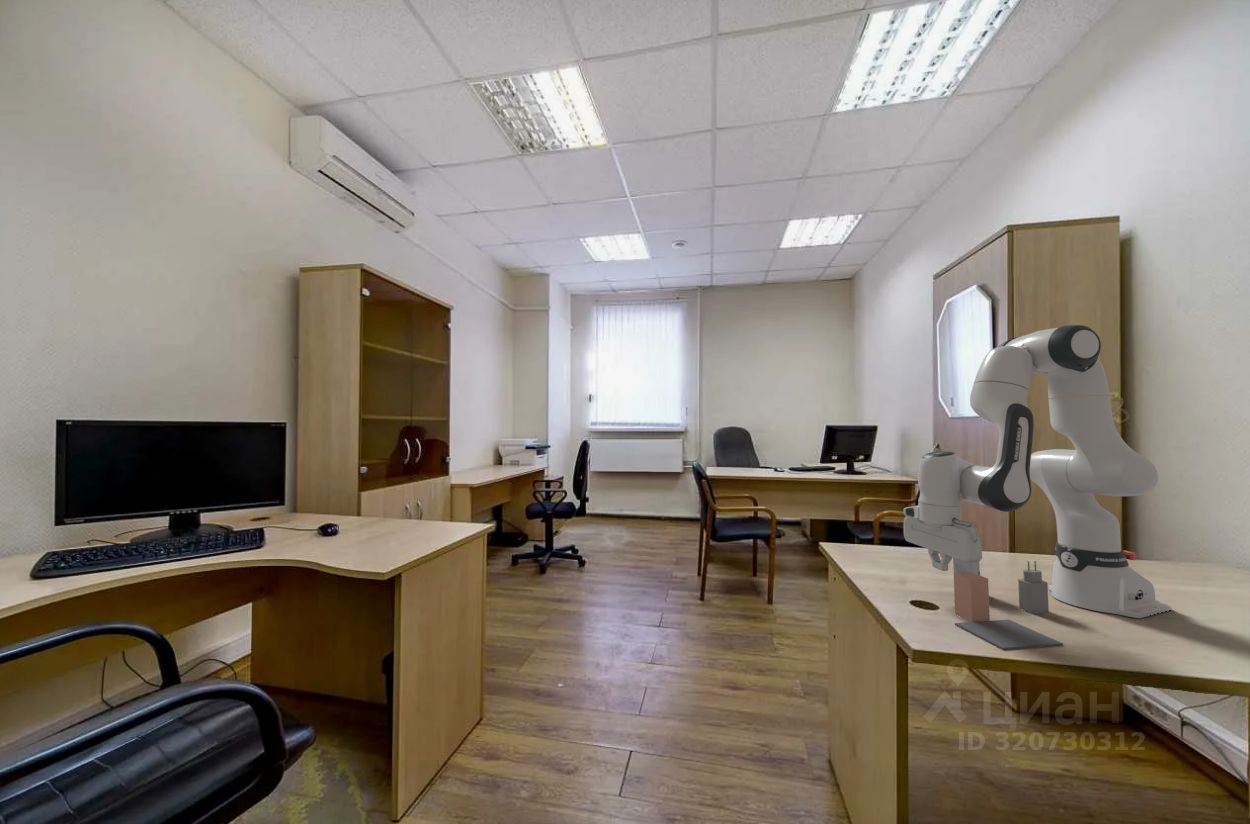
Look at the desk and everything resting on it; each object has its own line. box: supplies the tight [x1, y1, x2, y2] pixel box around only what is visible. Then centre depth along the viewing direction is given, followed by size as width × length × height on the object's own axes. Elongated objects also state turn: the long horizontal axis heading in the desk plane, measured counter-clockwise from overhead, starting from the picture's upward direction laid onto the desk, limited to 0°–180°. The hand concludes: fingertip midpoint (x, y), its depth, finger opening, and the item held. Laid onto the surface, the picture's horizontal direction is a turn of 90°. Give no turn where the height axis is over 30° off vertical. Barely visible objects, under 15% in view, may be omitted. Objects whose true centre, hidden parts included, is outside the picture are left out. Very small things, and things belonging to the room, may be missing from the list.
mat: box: [954, 619, 1064, 651], centre depth 93 cm, size 14×11×1 cm
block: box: [953, 572, 991, 622], centre depth 101 cm, size 4×4×10 cm
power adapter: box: [1017, 560, 1050, 614], centre depth 105 cm, size 3×5×12 cm, turn 96°
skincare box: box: [952, 557, 981, 576], centre depth 116 cm, size 6×4×12 cm
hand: (940, 569), depth 109 cm, fingers closed
